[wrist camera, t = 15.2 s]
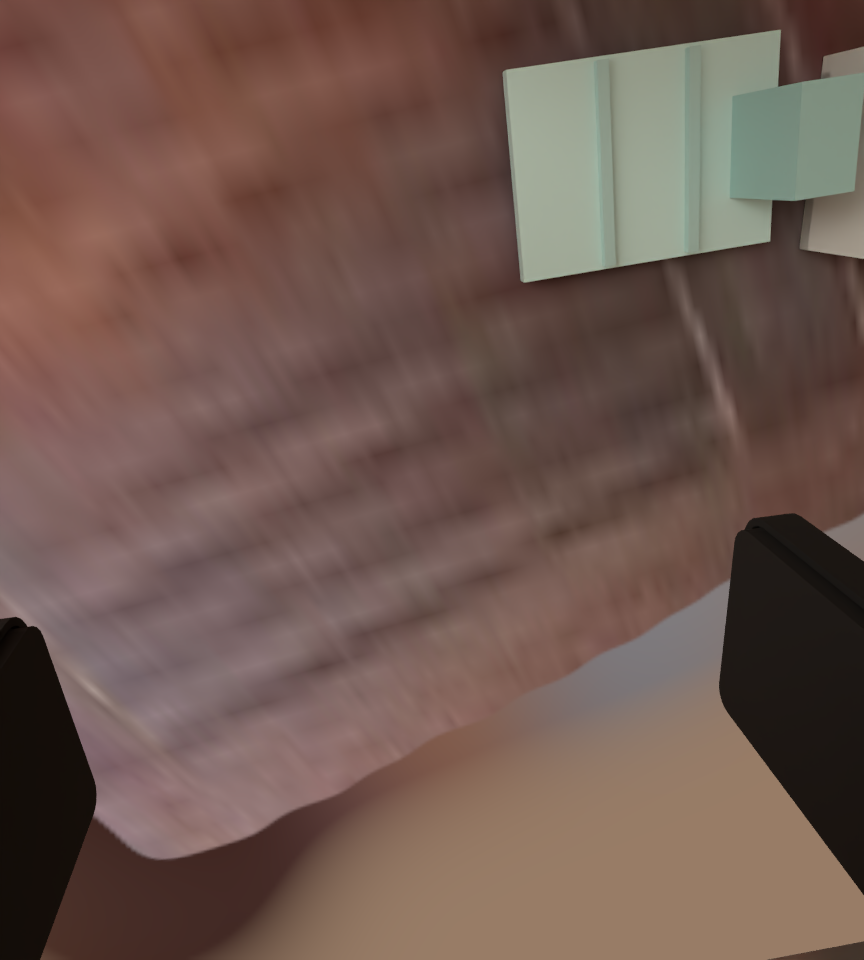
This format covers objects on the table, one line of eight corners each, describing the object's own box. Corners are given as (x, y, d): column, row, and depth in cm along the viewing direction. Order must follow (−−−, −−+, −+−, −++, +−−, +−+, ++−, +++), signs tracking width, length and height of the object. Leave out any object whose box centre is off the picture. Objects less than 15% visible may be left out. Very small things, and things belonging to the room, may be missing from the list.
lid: (498, 74, 37) (538, 49, 30) (770, 34, 38) (872, 1, 31) (516, 278, 41) (555, 299, 34) (760, 237, 42) (848, 249, 35)
